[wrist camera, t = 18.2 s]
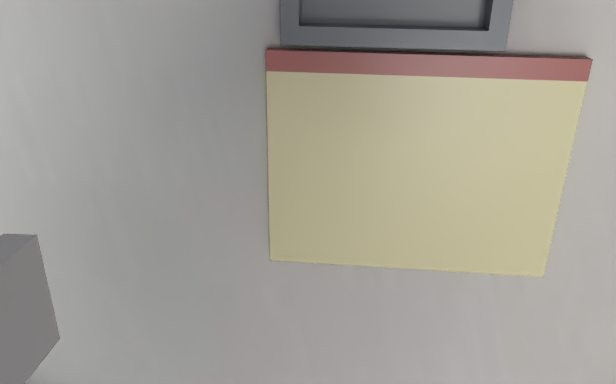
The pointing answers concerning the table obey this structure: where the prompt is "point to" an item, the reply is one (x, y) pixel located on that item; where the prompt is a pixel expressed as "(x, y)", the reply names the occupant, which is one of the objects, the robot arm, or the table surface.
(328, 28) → the tray
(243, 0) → the table surface
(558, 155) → the notepad
